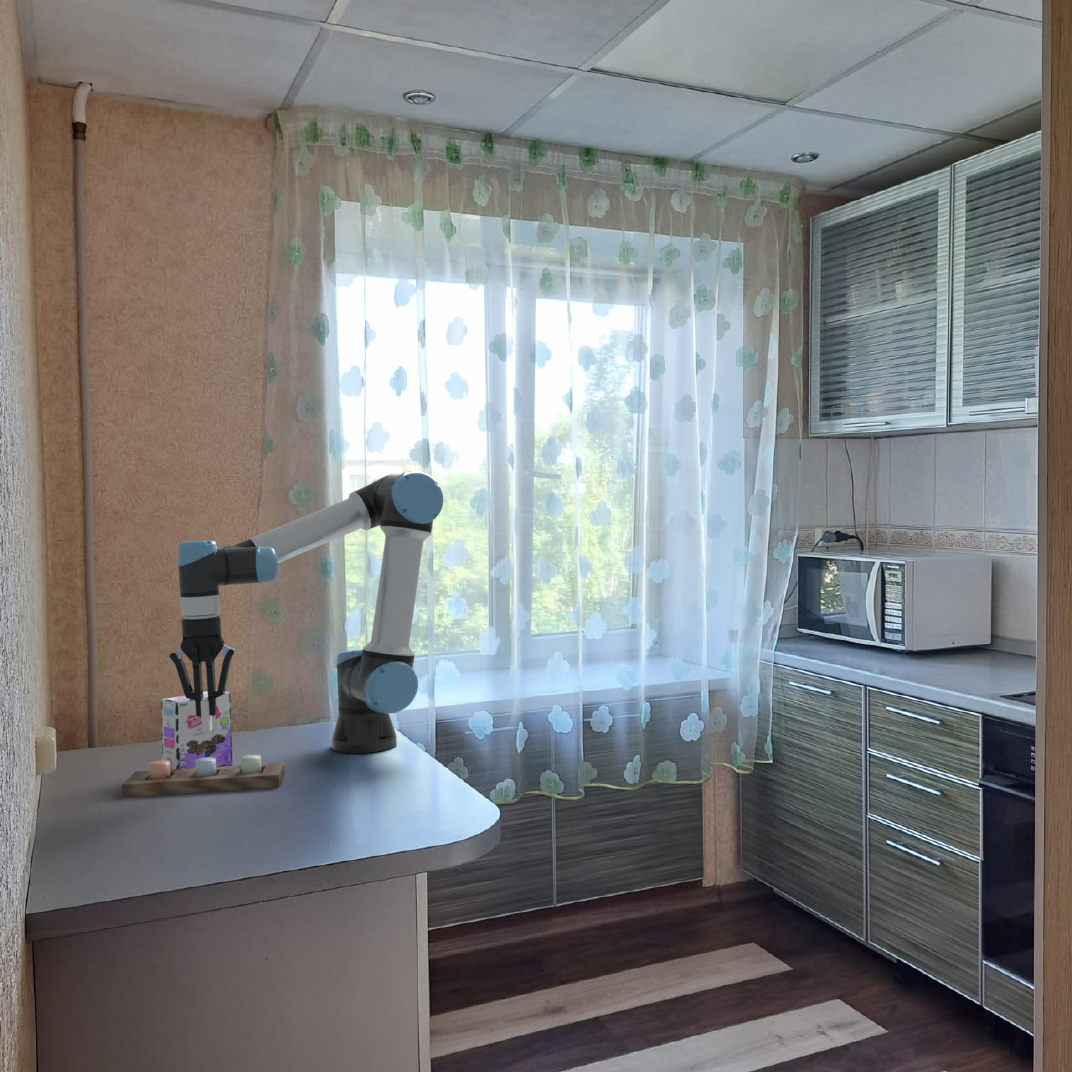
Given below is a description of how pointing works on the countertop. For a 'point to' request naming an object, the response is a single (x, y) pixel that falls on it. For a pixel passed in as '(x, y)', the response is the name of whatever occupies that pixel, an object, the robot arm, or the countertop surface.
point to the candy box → (195, 732)
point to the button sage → (251, 764)
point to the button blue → (205, 766)
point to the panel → (203, 781)
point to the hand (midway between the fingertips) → (207, 731)
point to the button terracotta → (159, 769)
